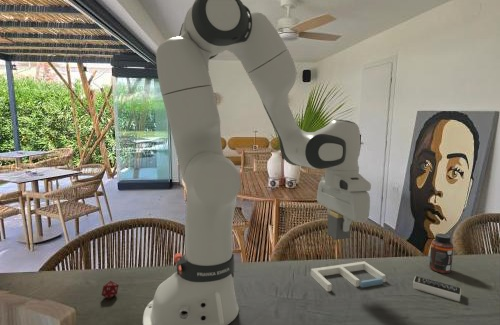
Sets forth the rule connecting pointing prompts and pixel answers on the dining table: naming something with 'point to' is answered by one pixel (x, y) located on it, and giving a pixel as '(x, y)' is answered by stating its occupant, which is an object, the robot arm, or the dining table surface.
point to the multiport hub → (437, 288)
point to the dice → (110, 290)
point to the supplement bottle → (441, 254)
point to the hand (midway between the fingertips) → (338, 227)
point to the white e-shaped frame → (348, 274)
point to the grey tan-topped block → (336, 226)
